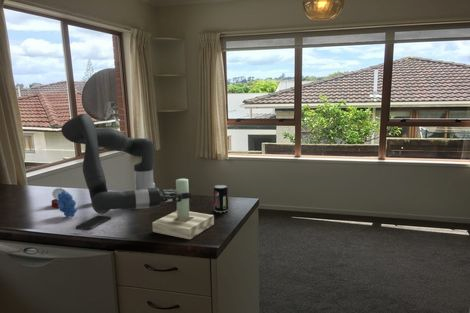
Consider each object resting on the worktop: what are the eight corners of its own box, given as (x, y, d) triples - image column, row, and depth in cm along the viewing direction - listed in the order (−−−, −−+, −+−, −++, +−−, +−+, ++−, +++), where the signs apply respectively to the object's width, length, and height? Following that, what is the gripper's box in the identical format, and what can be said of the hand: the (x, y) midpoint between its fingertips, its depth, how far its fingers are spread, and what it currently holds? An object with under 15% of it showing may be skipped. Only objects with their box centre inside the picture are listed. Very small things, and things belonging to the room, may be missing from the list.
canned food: (68, 210, 190) (75, 193, 192) (70, 214, 181) (78, 195, 183) (45, 204, 184) (53, 185, 186) (47, 207, 176) (55, 187, 178)
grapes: (51, 217, 165) (48, 192, 163) (64, 213, 171) (61, 188, 169) (68, 221, 160) (65, 195, 158) (81, 216, 166) (78, 191, 164)
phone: (112, 216, 163) (90, 228, 149) (112, 219, 163) (90, 231, 149) (97, 215, 165) (74, 226, 151) (97, 217, 165) (74, 229, 151)
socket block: (179, 218, 162) (178, 209, 161) (213, 224, 154) (213, 215, 153) (152, 231, 146) (152, 222, 145) (189, 239, 138) (189, 229, 137)
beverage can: (228, 212, 168) (228, 187, 166) (214, 213, 168) (213, 188, 166) (227, 208, 175) (227, 184, 173) (214, 209, 174) (213, 184, 172)
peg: (181, 213, 152) (180, 178, 150) (191, 214, 150) (190, 179, 147) (174, 216, 148) (173, 180, 145) (184, 218, 145) (183, 181, 143)
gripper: (149, 193, 135) (193, 188, 141) (143, 184, 148) (184, 181, 154) (150, 212, 136) (194, 207, 142) (144, 202, 149) (184, 198, 155)
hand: (188, 193), depth 148 cm, fingers closed on peg, 5 cm apart
